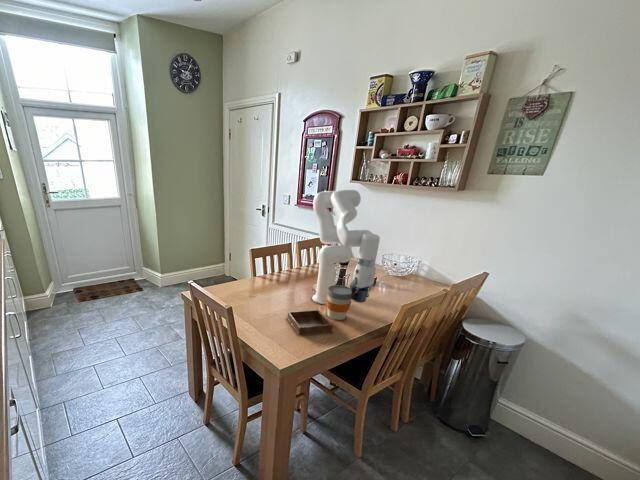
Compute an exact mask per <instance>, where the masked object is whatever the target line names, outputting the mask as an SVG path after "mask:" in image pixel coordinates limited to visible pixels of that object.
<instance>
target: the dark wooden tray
mask: <svg viewBox="0 0 640 480" xmlns="http://www.w3.org/2000/svg"><path fill="white" fill-rule="evenodd" d="M287 320H288V321H289V323H290V324H291V325H292V327H293V328H294V330H295V331H296V332H297V334H298V335H308V334H321V333H329V332H330V333H331V332H332V331H333V324H332V323H331V322H330V320H329V319H328V318H327V317H326V316H325V315H324V314H323V313H322V311H320V310H319V309H311V310H310V309H309V310H296V311H295V310H294V311H287Z"/></svg>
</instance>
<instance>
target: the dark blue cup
mask: <svg viewBox="0 0 640 480" xmlns="http://www.w3.org/2000/svg"><path fill="white" fill-rule="evenodd" d="M356 288H357V287H355V289H356ZM369 290H370V291H371V289H369V288H367V287H364V288H359V290H358V292H357V293H358V297H357V301H355V300H353V301H354V302H355V303H362V304H363V303H365V302H366V301H367V299H368V297H367V296H368V295H369V296H370V292H369Z"/></svg>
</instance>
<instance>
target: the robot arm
mask: <svg viewBox="0 0 640 480" xmlns="http://www.w3.org/2000/svg"><path fill="white" fill-rule="evenodd" d="M361 199H362V197H361V194H360V192H359V191H358V190H355V189H339V190H325V191H319V192H317V193H316V194H315V195H314V197H313V202H312V207H313V212H314V214H315V218H316V220H317V229H318V236H319V241H320V242H321V243H322V244H323V245H326V246H323V247H321V248H320V249H319V251H318V274H317V281H316V289H315V294H314V295H313V296H312V301H313V302H315V303H316V304H321V305H327V297H328V295H327V291H328V288H329V287H330V286H333V285H336V279H337V269H336V267H335V264H344V263H345V264H346V263H348V262H350V261H351V259H352V256H353V255H352V254H353V252H352V251H353V249H352V248H359V251H358V256H357V262H356V266H355V269H354V272H353V275H352V281H351V282H350V283H349V284H348V287H349V288H350V289H351V291H352V293H351V301H352V300H353V301H354V300H355V301H354V302H356V301H357V297H358V293H357V292H358V290H359V288H364V287H367V288H369V289H370V290H369V293H370V291H371V289H372V287H373V285H374V283H375V281H376V279H375V277H376V270H377V269H376V262H377V256H378V255H377V254H378V251H379V247H380V246H379V245H380V240H381V238H380V236H379V235H378V234H375V233H373V232H372V231H370V230H368V229H352V230H349V228H348V226H347V225H348V224H349V223H351V222H353V220H355V219H356V217H357V216H358V210H357V209H356V208H358V206H359V205H360V204H361ZM329 209H334V211H335V213H336V215H337V217H338V221H337V224H335V220H334V218H335V217H334V216H333V213H332V212H331V211H330V210H329ZM332 244H337V245H332ZM355 287H357V288H356V289H355ZM369 296H370V294H369V295H368V296H367V298H369Z"/></svg>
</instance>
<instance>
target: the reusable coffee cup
mask: <svg viewBox="0 0 640 480" xmlns="http://www.w3.org/2000/svg"><path fill="white" fill-rule="evenodd" d="M351 293H352V291H351V289H350V287H349V286H347V285H341V284H340V285H339V284H335V285H333V286H330V287H329V288H328V291H327V295H328V297H327V304H326V308H327V310H326V311H327V316H328V318H330V319H333V320H337V321H341V320H345V319H346V317H347V313H348V312H349V310H350V307H351V304H352V299H351Z"/></svg>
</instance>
